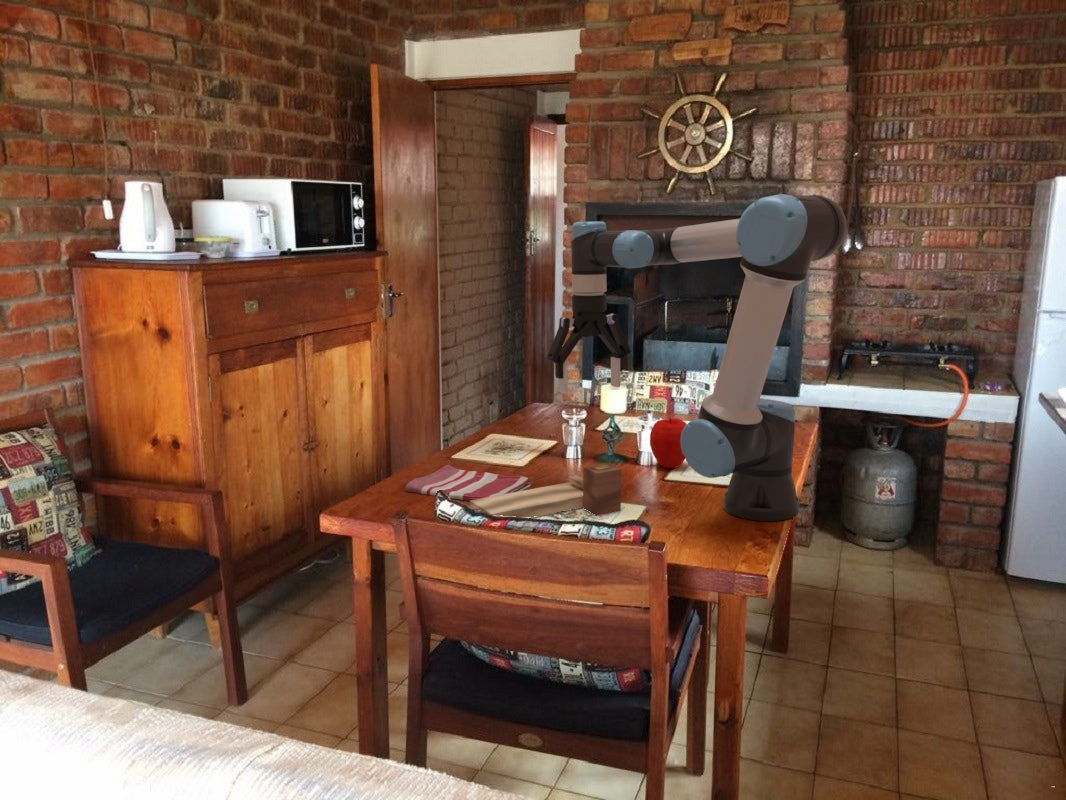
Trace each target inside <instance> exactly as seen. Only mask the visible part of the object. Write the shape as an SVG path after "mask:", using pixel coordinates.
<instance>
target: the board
mask: <svg viewBox="0 0 1066 800" xmlns="http://www.w3.org/2000/svg"><path fill="white" fill-rule="evenodd" d="M470 506H471V507H473V508H476V509H478V510H481V511H484V512H487V513H490V514H495V515H503V516H516V517H531V519H533V518H532V517H534V516H541V517H544V516H543V515H545V516H549V515H548V514H550V515H554V514H553V513H555V514H558V513H557V512H560V513H562V512H561V511H564V510H570V509H575V508H580V509H583V508H582V507H583V489H582V488H580V487H578V486H576V485H574V484H572V483H570V482H564V483H563V482H562V483H557V484H552V485H546V486H541V487H535V488H530V489H524V490H522V491H518V492H513V493H508V494H502V495H497V496H491V497H486V498H480V499H475V500H470V501H469V507H470ZM575 510H576V509H575ZM570 511H571V510H570Z"/></svg>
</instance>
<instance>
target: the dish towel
mask: <svg viewBox="0 0 1066 800" xmlns="http://www.w3.org/2000/svg"><path fill="white" fill-rule="evenodd" d="M530 483H531V479H530V478H529V477H526V476H522V475H518V474H517V475H516V474H508V473H498V474H497V473H495V474H494V473H491V472H486V471H479V470H471V471H469V470H464V469H460V468H455V467H454V466H452V465H450V464H445V465H443V467H441V468H440V469H438V470H436V471H435V472H433V473H430V474H427V475H425V476H420V477H415V478H413V479H411V480H410V481H408V482H407V483H406V486H405V491H406V492H408V493H416V494H421V495H427V496H432V497H433V496H434V497H436V496H435V495H436V493H437V491H439V490H443V491H445V492H446V493H447V494H448V496H449V497H450V498H449V499H454V500H462V501H465V502H470V500H475V499H480V498H486V497H491V496H497V495H502V494H508V493H513V492H518V491H524V490H527V489H528V488H529V487H531V484H530Z"/></svg>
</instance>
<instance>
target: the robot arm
mask: <svg viewBox="0 0 1066 800" xmlns="http://www.w3.org/2000/svg"><path fill="white" fill-rule="evenodd" d="M847 227H848V226H847V218H846V216H845V214H844V210H843V209H842V207H840V205H838V204H837V202H836V201H834V200H832V199H831V198H828V197H826V196H822V195H818V194H810V195H808V194H807V195H797V194H794V195H793V194H783V193H781V194H774V195H769V196H765V197H762V198H758V199H757V200H755V201H754V202H753V203H751V204H750V205H749V206H747V208H746V209H745V210H744V211H743V213H742V215H741V217H740V218H736V219H734V218H733V219H728V220H721V221H715V222H714V221H713V222H708V223H707V222H705V223H701V224H693V225H691V224H690V225H686V226H678V227H671V228H663V229H637V230H635V229H633V230H630V229H627V230H607V224H606V222H604V221H575V222H574V223H573V224H572V226H571V237H570V245H571V247H570V248H571V250H570V251H571V292H572V293H574V294H573V295H572V296H571V310H572V311H571V312H572V317H571V318H568V317H564V316H561V317H560V318H559V320H558V321H559V323H558V329H557V331H556V334H555V337H554V339H553V341H552V344H551V346H550V348H549V351H548V353H547V356H546V359H547V361H549V362H552V363H554V368H555V369H554V371H555V372H554V373H555V375H554V376H555V378H556V379H558V393H561V394H564V395H567V394H569V390H568V389H569V388H568V387H569V385H568V384H569V383H568V382H569V380H568V379H569V375H568V373H569V371H568V369H569V367H568V363H565V361H566V360H567V359H568V358H569V356H570V355H571V353H572V352H573V350H575V347H576V345H577V344H578V343H579V341H580V340H582V339H583V337H584V338H589V337H592V336H593V337H599V338H600V340H602V342H603V343H604V344H605V346H606V347H607V348H608V350H609V351H610V352H611V354H612V355H613V356H610V386H611V387H613V388H614V387H615V388H621V372H623V370H624V359H626V357H627V355H630V354H631V352H632V350H631V347H630V346H629V343H628V341H627V338H626V336H625V334H624V331H623V330H622V327H621V324H620V318H619V315H618V314H616V313H608V314H606V311H607V295H606V294H605V293H606V292H607V291H608V289H607V285H608V284H607V267H610V268H625V269H629V270H631V269H638V268H643V267H644V268H645V267H649V266H659V265H662V266H663V265H669V266H670V265H676V264H681V263H682V264H683V263H690V262H692V263H693V262H702V261H711V260H722V259H723V260H724V259H732V258H733V259H734V258H741V260H740V263H739V265H740V268H741V269H742V270H743V273H744V274H745V277H744V280H743V285H742V288H741V291H740V295H739V298H738V302H737V306H736V309H735V313H734V316H733V320H732V323H731V327H730V331H729V334H728V337H727V342H726V344H725V345H726V346H725V348H724V353H723V356H722V358H721V359H722V360H721V362H720V367H719V370H718V374H717V378H716V382H715V385H714V388H713V391H712V392H713V393H711V394H710V395H707V396H706V397H704V398H703V399H702V401H701V405H700V408H699V412H698V415H697V418H693V419H692V420H690V421H689V422H688V423H686V424H687V425H686V426H685V427H684V429H683V431H682V434H681V449H682V453H683V455H684V456H685V461H686V463H687V464H688V466H689V467H690V468H691V469H692V470H693V471H695V473H697V474H699V475H700V476H702V477H704V478H709V479H713V478H714V479H715V478H720V477H723V478H724V477H727V476H729V475H731V474H732V475H731V476H730V480H729V483H728V486H727V490H726V492H725V493H724V496H723V509H724V510H725V511H726V512H727V513H728V514H730V515H732V516H734V517H735V516H736V517H737V518H741V519H744V520H752V521H760V522H777V521H785V520H790V519H792V518H795V517H796V516H798V514H799V513H800V499H799V497H798V496H797V490H796V486H795V482H794V479H793V462H794V460H793V459H794V445H795V444H794V442H795V425H797V424H796V417H795V416H796V415H795V414H796V412H795V408H794V407H793V405H792V404H790V403H789V402H786V401H782V400H781V401H780V400H774V399H769V398H761V395H762V392H763V389H764V385H765V383H766V380H767V376H768V373H769V370H770V366H771V363H772V359H773V356H774V352H775V349H776V346H777V344H778V340H779V336H780V333H781V330H782V327H783V322H784V319H785V317H786V313H787V311H788V307H789V303H790V300H791V297H792V293H793V290H794V288H795V287H796V286H797V285H799V284H801V283H803V282H805V281H806V277H807V274H808V273H809V272H808V271H809V269H810V266H811V263H812V262H814V261H819V260H823V259H825V258H827V257H830V256H831V255H832V254H835V252H836V251H838V249H839V248H840V246H841V245H842V244H843V242H844V240H845V238H846V234H847ZM606 324H608V327H609V328H610V331H611V333H612V335H613V337H614V339H615V340H614V339H613V337H612V336H611V334H610V332H609V331H608V330H607V328H606V327H605V326H606ZM571 327H573V328H572V329H571V332H570V333H569V331H570V328H571ZM568 334H569V336H568V338H567V335H568ZM566 339H567V340H566Z"/></svg>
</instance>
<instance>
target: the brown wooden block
mask: <svg viewBox="0 0 1066 800" xmlns="http://www.w3.org/2000/svg"><path fill="white" fill-rule="evenodd" d="M582 468H583V469H582V470H583V471H582V475H583V476H582V477H581V476H579V475H576V474H574V475H569V476H567V478H568V482H570V483H572V484H574V485H576V486H578V487H580V488H582V489H583V508H584V509H586V510H588V511H590V512H591V513H590V512H589V513H590V514H592V513H593V514H592V515H594V514H595V515H594V516H596V517H597V515H598V516H603V515H607V514H608V515H609V514H612V513H616V512H621V511H622V469H621V467H617V466H615V465H612V464H611V463H610V464H609V463H601V464H596V465H589V466H585V467H584V466H583V467H582ZM583 508H582V509H583ZM584 509H583V510H584ZM586 510H585V511H586ZM588 511H587V512H588ZM602 514H603V515H602Z"/></svg>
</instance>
